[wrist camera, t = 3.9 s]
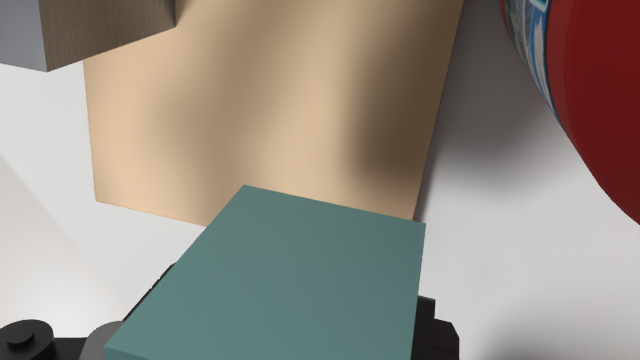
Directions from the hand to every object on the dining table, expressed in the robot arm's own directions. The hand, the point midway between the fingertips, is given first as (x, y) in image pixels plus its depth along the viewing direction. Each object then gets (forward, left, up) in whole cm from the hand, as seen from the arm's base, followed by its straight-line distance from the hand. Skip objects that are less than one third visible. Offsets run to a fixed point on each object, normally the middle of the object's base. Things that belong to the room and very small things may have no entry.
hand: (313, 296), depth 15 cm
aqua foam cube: (0, 0, -1) cm, 1 cm away
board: (+4, -4, -6) cm, 8 cm away
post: (+8, -7, -5) cm, 12 cm away
